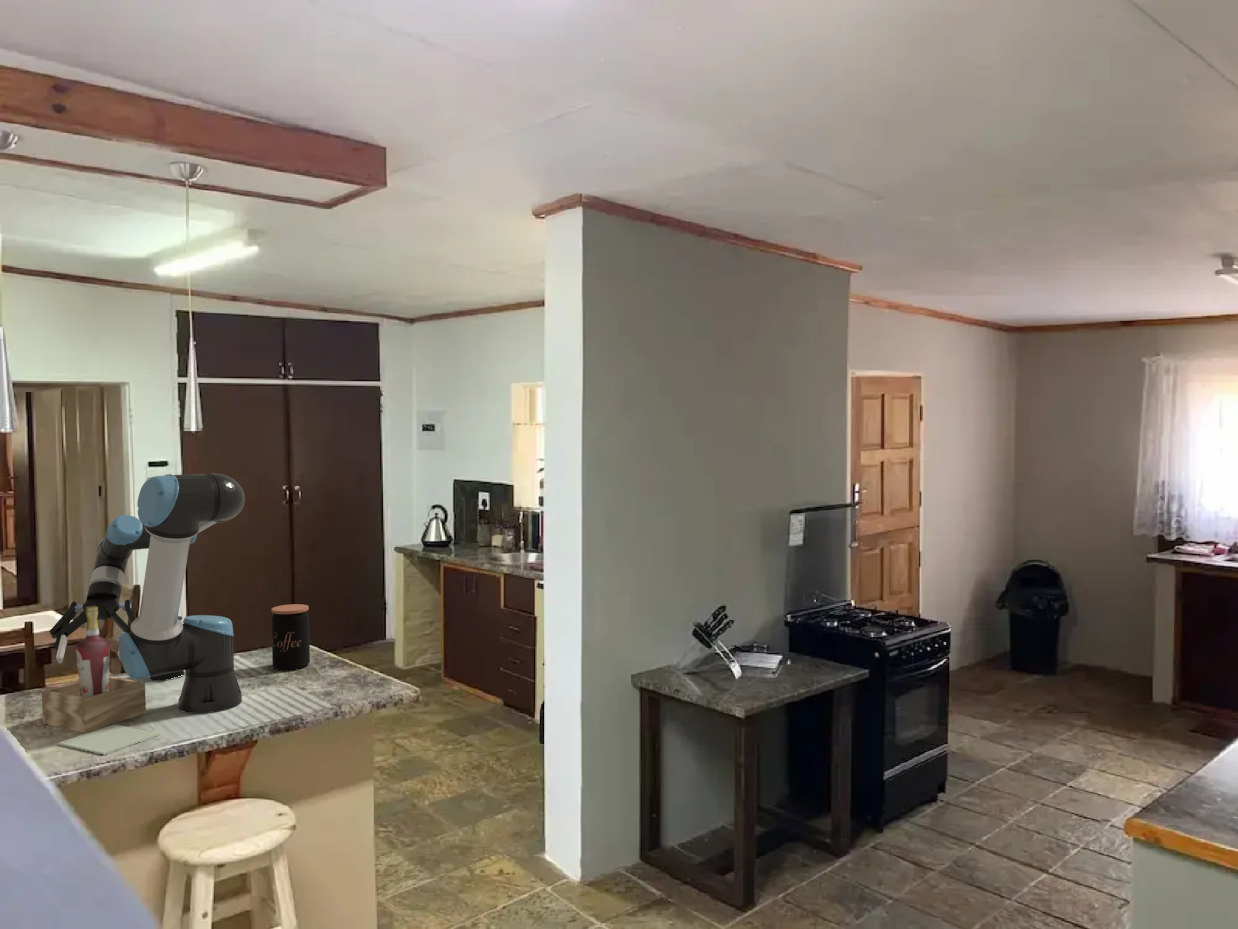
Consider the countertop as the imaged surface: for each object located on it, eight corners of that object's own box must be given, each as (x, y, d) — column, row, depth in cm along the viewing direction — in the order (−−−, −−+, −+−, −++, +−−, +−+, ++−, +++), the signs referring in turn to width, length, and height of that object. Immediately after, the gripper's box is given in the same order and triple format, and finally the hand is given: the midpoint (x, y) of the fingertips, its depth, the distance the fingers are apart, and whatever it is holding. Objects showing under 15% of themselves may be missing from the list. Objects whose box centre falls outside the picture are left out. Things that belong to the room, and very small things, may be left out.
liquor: (115, 718, 227) (112, 607, 226) (82, 725, 222) (78, 611, 221) (107, 712, 232) (104, 603, 231) (74, 718, 227) (71, 607, 226)
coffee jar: (265, 670, 271) (264, 610, 270) (284, 661, 281) (283, 603, 280) (298, 672, 269) (297, 611, 268) (316, 662, 279) (315, 604, 279)
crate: (145, 713, 231) (145, 682, 230) (85, 732, 216) (84, 699, 216) (104, 705, 238) (103, 675, 237) (42, 723, 223) (41, 691, 223)
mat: (159, 735, 214) (159, 733, 214) (104, 755, 201) (103, 753, 201) (114, 726, 221) (114, 724, 221) (57, 744, 208) (57, 742, 208)
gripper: (160, 594, 245) (148, 663, 231) (55, 598, 239) (36, 670, 225) (155, 577, 240) (142, 648, 226) (48, 581, 233) (28, 654, 220)
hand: (89, 659), depth 225 cm, fingers open, 13 cm apart
